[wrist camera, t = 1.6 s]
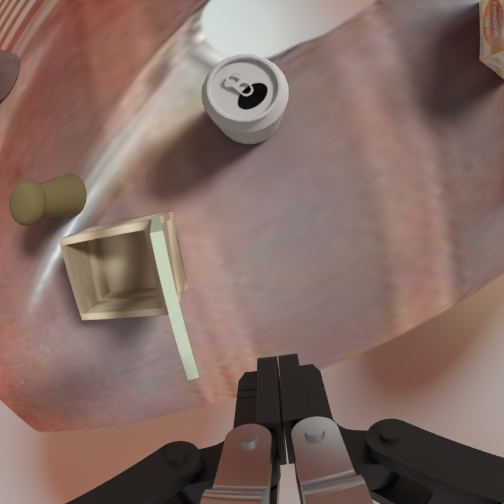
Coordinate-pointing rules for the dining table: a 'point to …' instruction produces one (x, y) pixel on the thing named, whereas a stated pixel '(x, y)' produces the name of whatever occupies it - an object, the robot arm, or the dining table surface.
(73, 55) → the dining table surface
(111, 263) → the box
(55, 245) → the dining table surface
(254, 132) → the can
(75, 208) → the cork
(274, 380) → the robot arm
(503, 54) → the coffeecake box
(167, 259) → the lid
